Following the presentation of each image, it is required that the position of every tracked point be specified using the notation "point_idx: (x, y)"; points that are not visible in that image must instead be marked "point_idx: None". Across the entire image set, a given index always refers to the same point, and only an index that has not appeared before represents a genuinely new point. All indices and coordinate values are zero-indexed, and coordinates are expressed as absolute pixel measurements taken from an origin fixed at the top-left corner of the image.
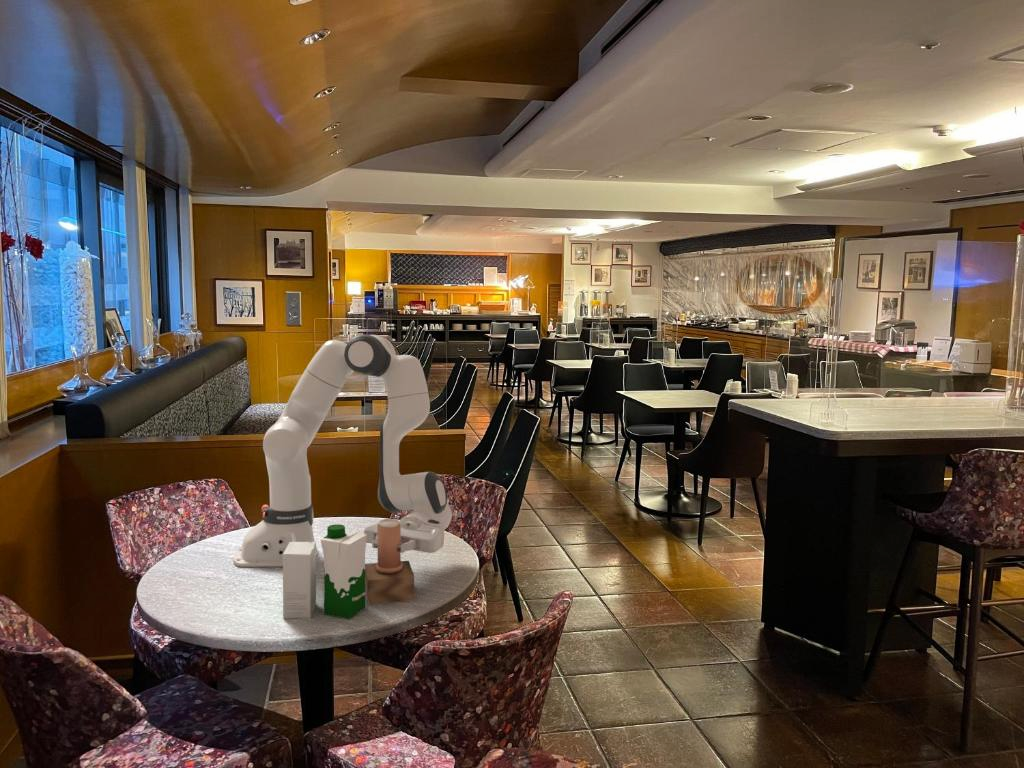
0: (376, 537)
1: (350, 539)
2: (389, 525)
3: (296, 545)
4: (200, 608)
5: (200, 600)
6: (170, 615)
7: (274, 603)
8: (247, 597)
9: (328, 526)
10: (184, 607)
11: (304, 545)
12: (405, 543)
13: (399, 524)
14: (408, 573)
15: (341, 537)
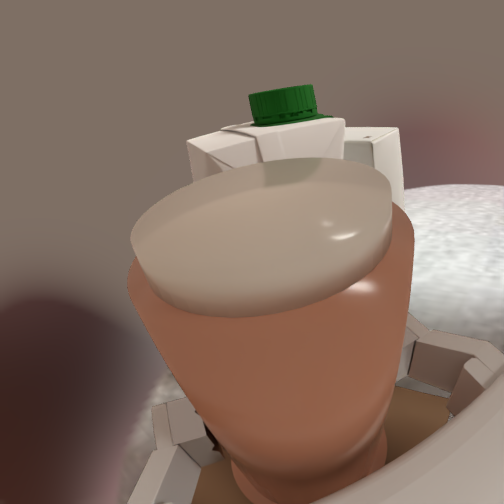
0: (455, 338)
1: (216, 136)
2: (179, 195)
3: (362, 129)
4: (440, 205)
5: (468, 207)
6: (429, 190)
7: (422, 260)
8: (463, 239)
9: (303, 85)
10: (449, 198)
11: (352, 133)
12: (165, 450)
13: (166, 312)
14: (198, 497)
15: (252, 124)
